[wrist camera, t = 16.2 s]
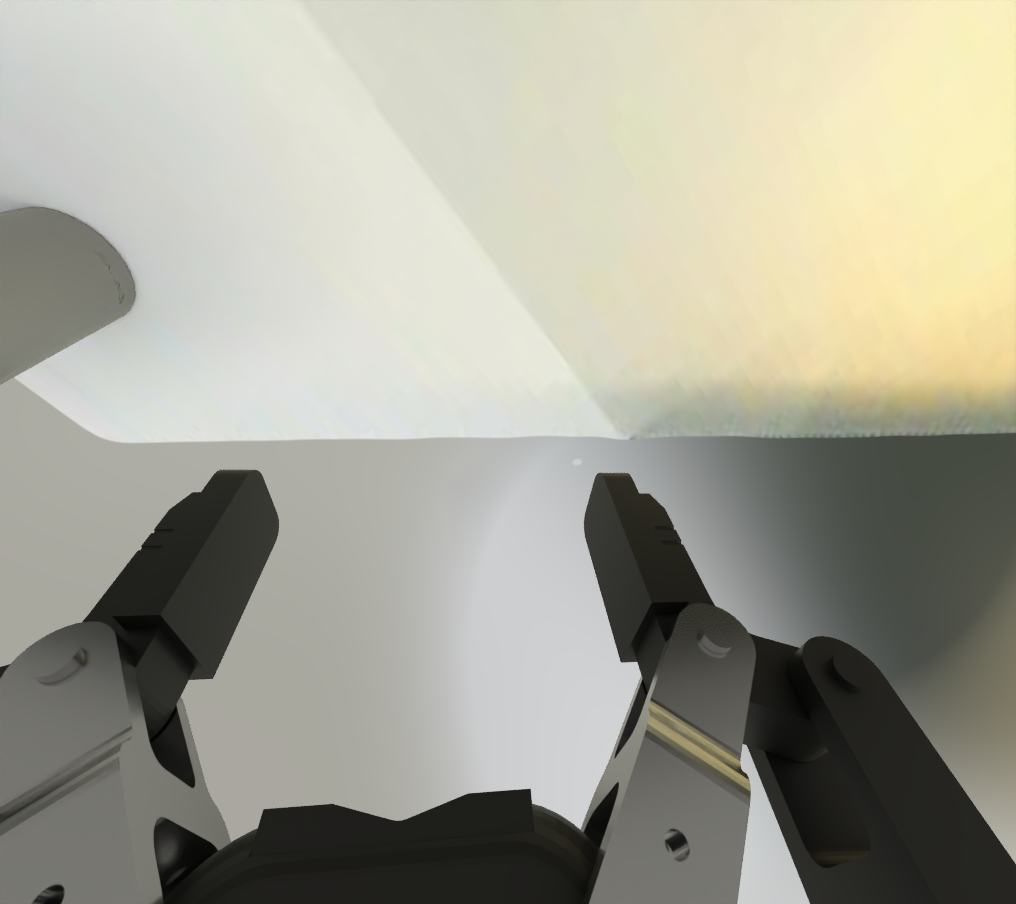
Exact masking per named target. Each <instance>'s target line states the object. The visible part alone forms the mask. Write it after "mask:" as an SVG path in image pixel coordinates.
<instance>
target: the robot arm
mask: <svg viewBox="0 0 1016 904" xmlns="http://www.w3.org/2000/svg"><path fill="white" fill-rule="evenodd" d="M134 299H135V286H134V281H133V279H132V276H131V273H130V271H129V269H128V267H127V266H126V264H125V262H124V260H123V259H122V258H121V256H120V255H119V254H118V253H117V251H116V250H115V249H114V248H113V247H112V246H111V245H110V244H109V243H108V242H107V241H106V240H105V239H104V238H103V237H102V236H101V235H100V234H98V233H97V232H96V231H94V230H93V229H92V228H90V227H89V226H87V225H86V224H84V223H82V222H80V221H79V220H77V219H75V218H73V217H71V216H69V215H66V214H64V213H61V212H59V211H55V210H51V209H47V208H37V207H29V208H23V209H18V210H13V211H7V212H2V213H0V384H2V383H4V382H6V381H8V380H9V379H11V378H13V377H15V376H17V375H19V374H20V373H22V372H24V371H26V370H27V369H29V368H31V367H33V366H35V365H36V364H38V363H40V362H42V361H44V360H45V359H47V358H49V357H51V356H52V355H54V354H56V353H58V352H60V351H61V350H63V349H65V348H67V347H69V346H70V345H72V344H74V343H76V342H78V341H79V340H81V339H83V338H85V337H86V336H88V335H90V334H92V333H94V332H96V331H98V330H99V329H101V328H103V327H105V326H106V325H108V324H110V323H112V322H114V321H115V320H117V319H119V318H121V317H122V316H124V315H125V314H126V313H127V312H129V311H130V309H131V307H132V305H133V304H134ZM154 530H155V532H154V533H151V534H150V536H149V537H148V538H147V539H146V541H145V542H144V543H143V545H142V549H141V550H139V551H137V552H136V554H135V555H134V556H133V558H132V559H131V560H130V562H129V563H128V564H127V565H126V567H125V568H124V569H123V571H122V572H121V573H120V574H119V576H118V577H117V578H116V580H115V581H114V582H113V584H112V585H111V586H110V587H109V589H108V590H107V591H106V593H105V594H104V595H103V596H102V598H101V599H100V600H99V602H98V603H97V604H96V606H95V607H94V608H93V609H92V611H91V612H90V614H89V615H88V616H87V617H86V618H85V619H84V620H83V622H82V623H76V624H73V625H70V626H67V627H64V628H62V629H59V630H56V631H54V632H52V633H50V634H49V635H47V636H45V637H43V638H42V639H40V640H38V641H37V642H35V643H34V644H32V645H31V646H30V647H28V648H27V649H26V650H25V651H24V652H22V653H21V654H20V655H19V656H18V657H17V658H16V659H15V660H14V661H13V662H12V663H11V664H9V665H6V666H2V667H0V904H737V900H738V892H739V885H740V876H741V869H742V862H743V854H744V846H745V839H746V831H747V823H748V815H749V807H750V796H751V791H750V781H749V778H748V776H747V774H746V773H744V772H743V771H742V769H741V765H740V758H741V751H742V744H745V745H747V747H748V749H749V752H750V754H751V756H752V759H753V761H754V764H755V766H756V769H757V771H758V774H759V776H760V779H761V781H762V784H763V787H764V789H765V792H766V794H767V797H768V799H769V802H770V804H771V807H772V809H773V811H774V814H775V817H776V819H777V821H778V824H779V827H780V829H781V832H782V834H783V837H784V839H785V842H786V844H787V847H788V849H789V851H790V854H791V856H792V859H793V862H794V864H795V867H796V869H797V871H798V874H799V877H800V879H801V881H802V884H803V887H804V889H805V892H806V894H807V897H808V899H809V902H810V904H1016V864H1015V863H1014V861H1013V860H1012V858H1011V857H1010V855H1009V854H1008V853H1007V851H1006V850H1005V848H1004V847H1003V845H1002V844H1001V843H1000V841H999V840H998V838H997V837H996V836H995V834H994V832H993V831H992V830H991V828H990V827H989V825H988V824H987V822H986V821H985V820H984V818H983V817H982V815H981V814H980V813H979V811H978V810H977V808H976V807H975V806H974V804H973V802H972V801H971V800H970V798H969V797H968V796H967V794H966V792H965V791H964V790H963V788H962V787H961V785H960V784H959V783H958V781H957V780H956V778H955V777H954V775H953V774H952V772H951V771H950V770H949V769H948V767H947V765H946V764H945V762H944V761H943V760H942V758H941V757H940V755H939V754H938V752H937V751H936V750H935V748H934V747H933V745H932V744H931V742H930V741H929V740H928V738H927V737H926V735H925V734H924V732H923V731H922V730H921V728H920V727H919V725H918V724H917V722H916V721H915V720H914V718H913V717H912V715H911V714H910V712H909V711H908V710H907V708H906V707H905V705H904V704H903V702H902V701H901V700H900V698H899V697H898V695H897V694H896V692H895V691H894V690H893V688H892V687H891V685H890V684H889V682H888V681H887V679H886V678H885V677H884V675H883V674H882V673H881V671H880V670H879V669H878V668H877V667H876V666H875V665H874V663H873V662H872V661H870V659H868V658H867V657H866V656H865V655H864V654H862V653H861V652H860V651H858V650H857V649H855V648H853V647H852V646H851V645H849V644H847V643H845V642H843V641H840V640H837V639H834V638H831V637H824V636H819V637H814V638H811V639H809V640H808V641H807V642H806V643H805V644H804V645H803V646H802V647H801V648H798V647H794V646H790V645H787V644H783V643H780V642H776V641H773V640H769V639H765V638H762V637H758V636H755V635H753V634H750V633H748V631H747V630H746V628H745V627H744V626H743V625H742V624H741V623H740V622H739V621H738V620H737V619H736V618H735V617H734V616H732V615H731V614H730V613H728V612H726V611H725V610H723V609H721V608H719V607H716V606H715V605H714V603H713V602H712V600H711V598H710V596H709V594H708V592H707V590H706V588H705V586H704V584H703V582H702V580H701V578H700V577H699V575H698V573H697V571H696V569H695V567H694V565H693V563H692V561H691V559H690V557H689V555H688V553H687V551H686V549H685V547H684V545H682V544H681V539H680V537H679V535H678V534H677V532H676V530H674V526H673V524H672V522H671V520H670V518H669V516H668V514H667V512H666V510H665V508H663V507H662V506H661V505H660V504H659V503H658V502H657V501H656V500H655V499H654V498H653V497H652V496H651V495H650V494H639V492H638V490H637V488H636V486H635V483H634V481H633V479H632V477H631V476H630V474H628V473H598V474H597V475H596V477H595V480H594V484H593V488H592V491H591V494H590V498H589V502H588V505H587V509H586V513H585V519H584V530H585V531H584V532H585V538H586V542H587V545H588V549H589V552H590V556H591V559H592V562H593V566H594V569H595V573H596V577H597V580H598V584H599V587H600V591H601V594H602V598H603V601H604V605H605V608H606V612H607V615H608V619H609V622H610V626H611V629H612V633H613V636H614V640H615V643H616V646H617V650H618V654H619V657H620V661H621V662H638V665H639V669H640V671H641V675H642V676H641V678H640V680H639V683H638V685H637V688H636V691H635V694H634V696H633V699H632V702H631V704H630V707H629V710H628V712H627V715H626V718H625V721H624V723H623V726H622V728H621V731H620V734H619V736H618V739H617V742H616V745H615V747H614V750H613V753H612V756H611V758H610V760H609V763H608V765H607V767H606V769H605V772H604V774H603V776H602V778H601V780H600V782H599V784H598V786H597V789H596V791H595V793H594V796H593V798H592V801H591V804H590V806H589V809H588V811H587V814H586V817H585V819H584V822H583V825H582V827H581V830H580V829H579V828H577V827H576V826H575V825H574V824H572V823H571V822H570V821H568V820H567V819H565V818H564V817H562V816H560V815H559V814H557V813H555V812H553V811H551V810H548V809H546V808H544V807H542V806H538V805H535V804H532V800H531V789H522V790H509V791H496V792H483V793H470V794H466V795H464V796H461V797H459V798H457V799H454V800H452V801H449V802H447V803H444V804H442V805H440V806H437V807H435V808H432V809H430V810H428V811H425V812H423V813H420V814H418V815H416V816H413V817H411V818H408V819H406V820H402V821H393V820H389V819H386V818H382V817H378V816H374V815H371V814H367V813H363V812H360V811H356V810H353V809H349V808H345V807H342V806H338V805H334V804H328V805H314V806H301V807H288V808H275V809H264V810H263V813H262V816H261V820H260V823H259V826H258V828H257V829H255V830H253V831H251V832H249V833H247V834H245V835H243V836H242V837H240V838H238V839H236V840H234V841H233V842H231V841H230V837H229V834H228V831H227V828H226V825H225V823H224V820H223V818H222V816H221V814H220V812H219V810H218V808H217V806H216V805H215V803H214V802H213V800H212V798H211V796H210V794H209V792H208V789H207V787H206V783H205V780H204V776H203V772H202V769H201V765H200V761H199V758H198V754H197V750H196V746H195V743H194V739H193V735H192V732H191V728H190V724H189V720H188V717H187V714H186V709H185V706H184V703H183V700H182V699H181V698H180V696H181V694H182V692H183V690H184V688H185V686H186V684H187V682H188V680H196V679H213V677H214V675H215V673H216V671H217V668H218V667H219V664H220V662H221V660H222V658H223V656H224V653H225V651H226V649H227V647H228V645H229V642H230V640H231V638H232V636H233V634H234V631H235V629H236V627H237V625H238V623H239V621H240V618H241V616H242V614H243V612H244V609H245V607H246V605H247V603H248V601H249V599H250V597H251V594H252V592H253V590H254V588H255V586H256V584H257V581H258V579H259V577H260V575H261V572H262V570H263V568H264V566H265V564H266V562H267V560H268V557H269V555H270V553H271V551H272V549H273V546H274V544H275V542H276V539H277V536H278V531H279V519H278V515H277V512H276V509H275V507H274V505H273V502H272V499H271V497H270V494H269V492H268V489H267V486H266V484H265V481H264V479H263V476H262V474H261V473H260V472H259V471H257V470H219V471H217V472H216V473H215V474H214V475H213V476H212V478H211V479H210V481H209V482H208V483H207V485H206V486H205V487H204V489H203V490H202V492H197V493H196V492H193V493H191V494H190V495H189V496H187V497H186V498H185V499H183V500H182V501H180V502H179V503H178V504H176V505H175V506H174V507H172V508H171V509H170V510H169V511H168V512H167V513H166V515H165V516H164V517H163V519H162V520H161V521H160V523H159V524H158V525H157V526H156V528H155V529H154Z"/></svg>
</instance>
